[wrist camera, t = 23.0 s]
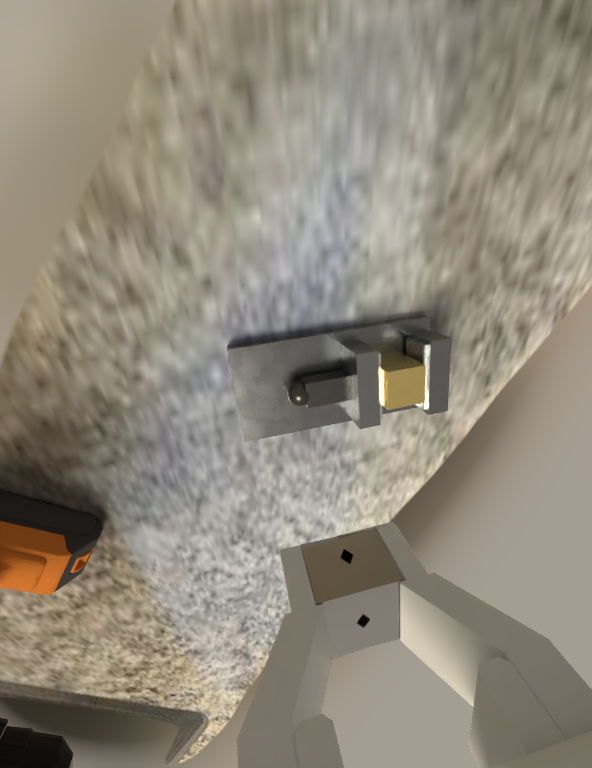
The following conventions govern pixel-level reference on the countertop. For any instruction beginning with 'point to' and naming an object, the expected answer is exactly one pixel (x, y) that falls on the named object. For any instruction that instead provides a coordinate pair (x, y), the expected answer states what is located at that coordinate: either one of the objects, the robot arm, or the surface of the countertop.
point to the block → (401, 381)
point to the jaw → (346, 385)
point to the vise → (324, 354)
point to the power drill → (41, 576)
